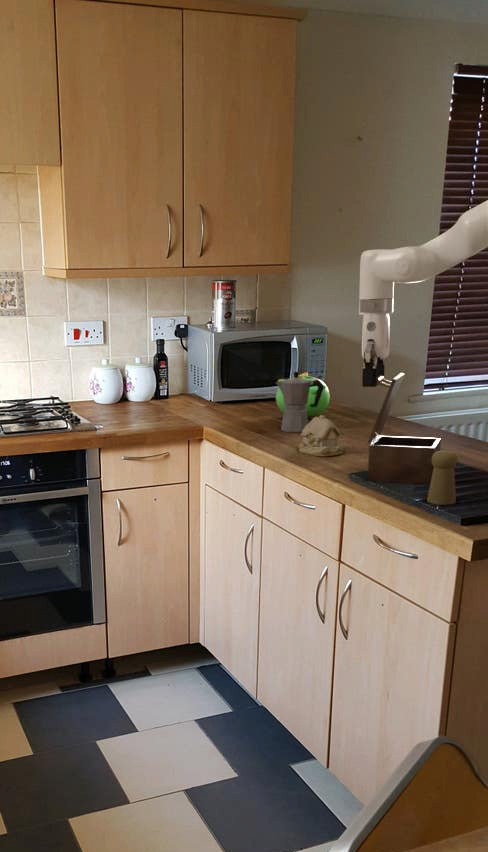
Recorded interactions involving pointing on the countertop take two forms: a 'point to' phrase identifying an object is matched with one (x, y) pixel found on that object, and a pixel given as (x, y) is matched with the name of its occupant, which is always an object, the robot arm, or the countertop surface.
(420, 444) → the chest
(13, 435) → the countertop surface
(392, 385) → the lid
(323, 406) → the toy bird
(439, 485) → the cork
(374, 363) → the robot arm
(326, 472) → the countertop surface
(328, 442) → the ceramic model
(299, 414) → the coffeepot
